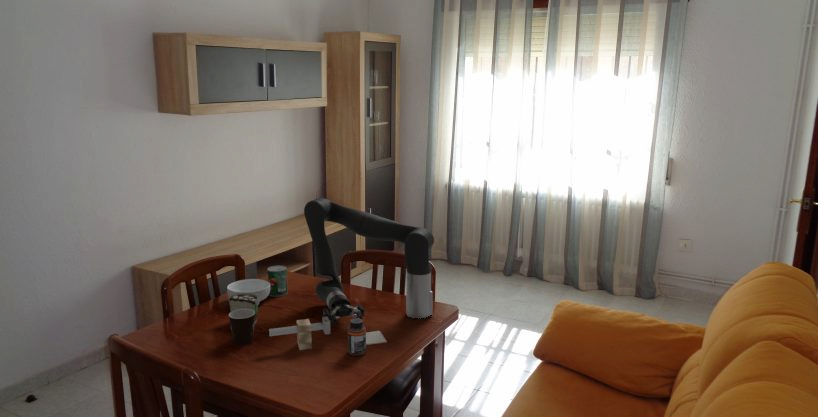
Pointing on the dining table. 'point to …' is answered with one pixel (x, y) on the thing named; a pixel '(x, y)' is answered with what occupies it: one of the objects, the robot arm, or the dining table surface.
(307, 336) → the keeper
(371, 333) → the mat
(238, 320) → the coffee mug
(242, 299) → the food container
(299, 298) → the dining table surface
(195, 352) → the dining table surface
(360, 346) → the supplement bottle
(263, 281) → the cereal bowl
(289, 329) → the t bolt
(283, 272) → the canned tomato
